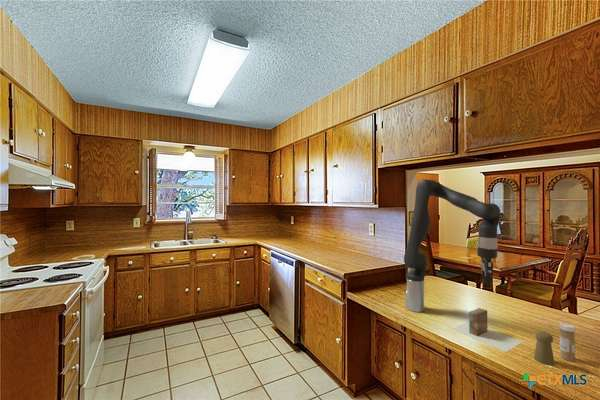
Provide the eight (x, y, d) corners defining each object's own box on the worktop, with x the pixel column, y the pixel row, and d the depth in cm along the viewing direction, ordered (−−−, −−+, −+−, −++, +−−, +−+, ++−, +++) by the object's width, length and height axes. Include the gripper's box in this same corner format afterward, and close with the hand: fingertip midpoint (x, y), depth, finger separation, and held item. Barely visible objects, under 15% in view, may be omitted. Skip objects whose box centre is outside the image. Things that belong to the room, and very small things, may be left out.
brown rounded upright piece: (533, 360, 106) (533, 332, 106) (534, 354, 110) (534, 327, 110) (554, 367, 101) (554, 338, 101) (555, 360, 105) (554, 332, 105)
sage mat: (450, 329, 131) (450, 328, 131) (469, 322, 139) (469, 321, 139) (505, 353, 111) (505, 352, 111) (523, 342, 119) (523, 341, 119)
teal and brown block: (469, 333, 126) (469, 311, 126) (479, 328, 131) (479, 307, 131) (477, 336, 123) (477, 314, 123) (487, 331, 128) (487, 310, 128)
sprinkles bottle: (578, 362, 104) (578, 327, 104) (565, 361, 105) (565, 326, 105) (569, 355, 109) (568, 322, 109) (556, 354, 110) (556, 321, 110)
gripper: (475, 243, 132) (474, 276, 132) (480, 248, 119) (479, 284, 120) (494, 244, 129) (493, 278, 129) (500, 250, 116) (499, 287, 116)
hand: (486, 281), depth 124 cm, fingers open, 8 cm apart
